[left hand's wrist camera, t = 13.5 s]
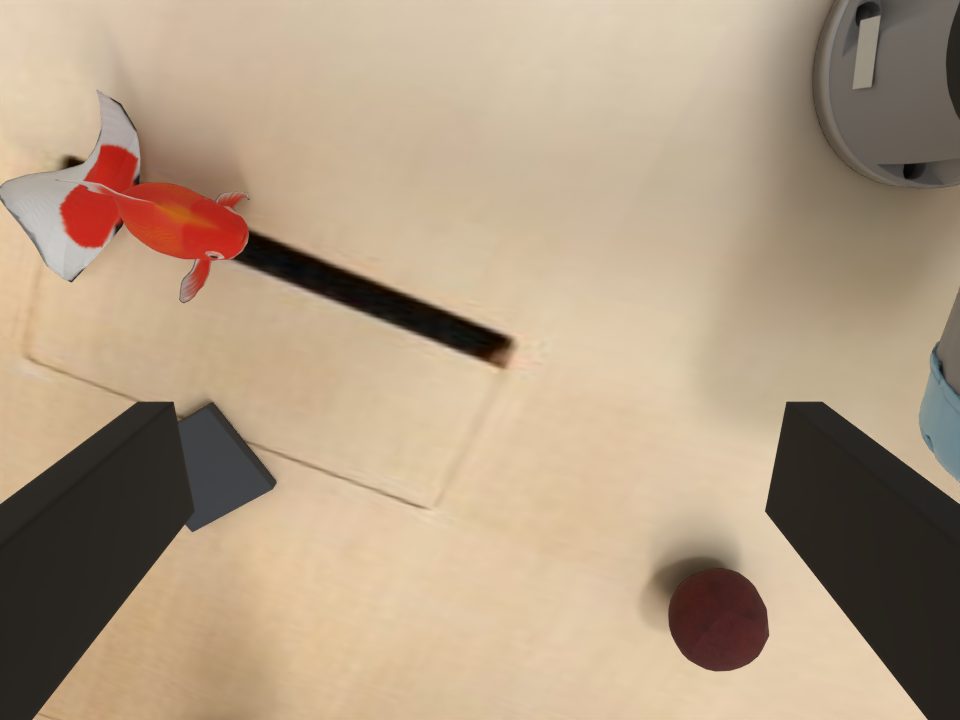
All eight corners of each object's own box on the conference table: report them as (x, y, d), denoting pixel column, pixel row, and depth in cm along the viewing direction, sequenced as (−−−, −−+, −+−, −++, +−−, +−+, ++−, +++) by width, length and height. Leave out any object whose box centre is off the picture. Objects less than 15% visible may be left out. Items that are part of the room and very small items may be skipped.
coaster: (212, 401, 44) (207, 407, 43) (277, 482, 46) (273, 489, 45) (130, 449, 45) (123, 455, 44) (197, 525, 47) (191, 532, 46)
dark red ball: (640, 604, 50) (665, 674, 43) (691, 536, 48) (725, 599, 41) (713, 634, 51) (747, 706, 44) (765, 568, 49) (810, 635, 42)
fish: (214, 372, 38) (83, 339, 28) (63, 252, 42) (-96, 188, 32) (310, 236, 38) (213, 157, 29) (152, 130, 42) (21, 30, 33)
